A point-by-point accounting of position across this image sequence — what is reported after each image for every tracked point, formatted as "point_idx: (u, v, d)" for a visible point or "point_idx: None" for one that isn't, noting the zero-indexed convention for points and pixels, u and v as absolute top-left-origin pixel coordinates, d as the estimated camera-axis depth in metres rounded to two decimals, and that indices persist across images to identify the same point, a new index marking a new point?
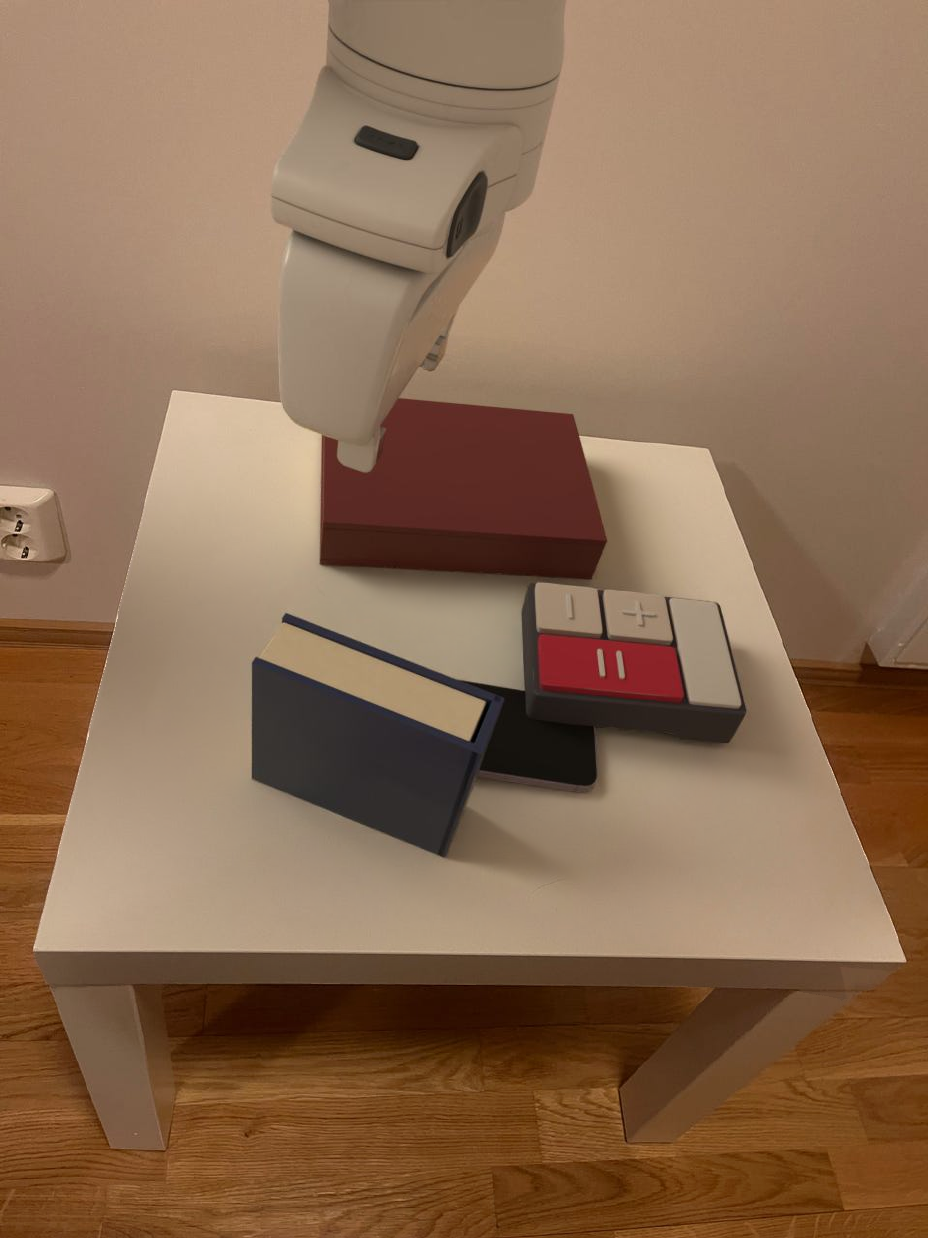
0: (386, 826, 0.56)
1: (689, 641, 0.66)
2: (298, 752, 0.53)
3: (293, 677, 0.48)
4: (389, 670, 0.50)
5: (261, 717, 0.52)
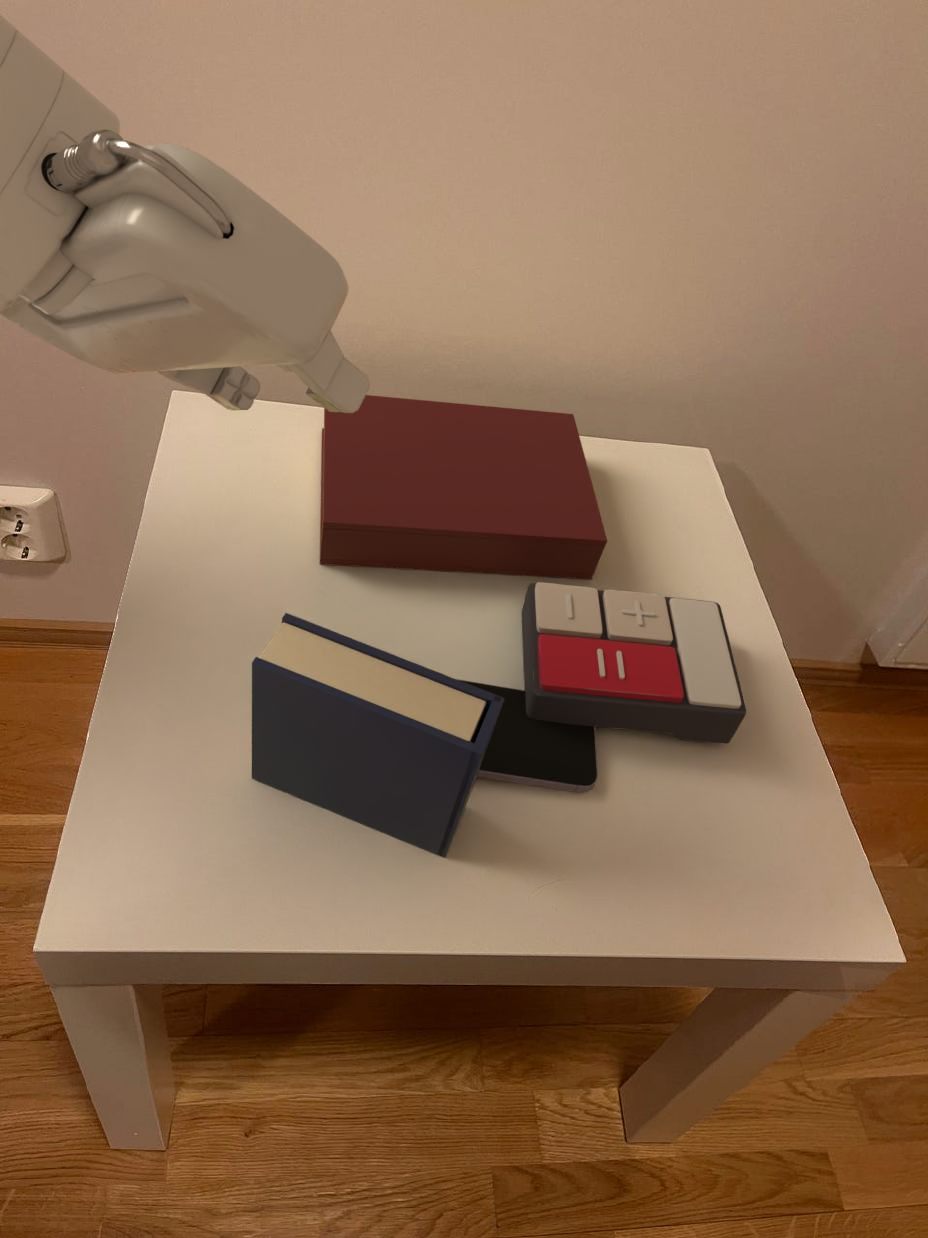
0: (386, 826, 0.56)
1: (689, 641, 0.66)
2: (298, 752, 0.53)
3: (293, 677, 0.48)
4: (389, 670, 0.50)
5: (261, 717, 0.52)
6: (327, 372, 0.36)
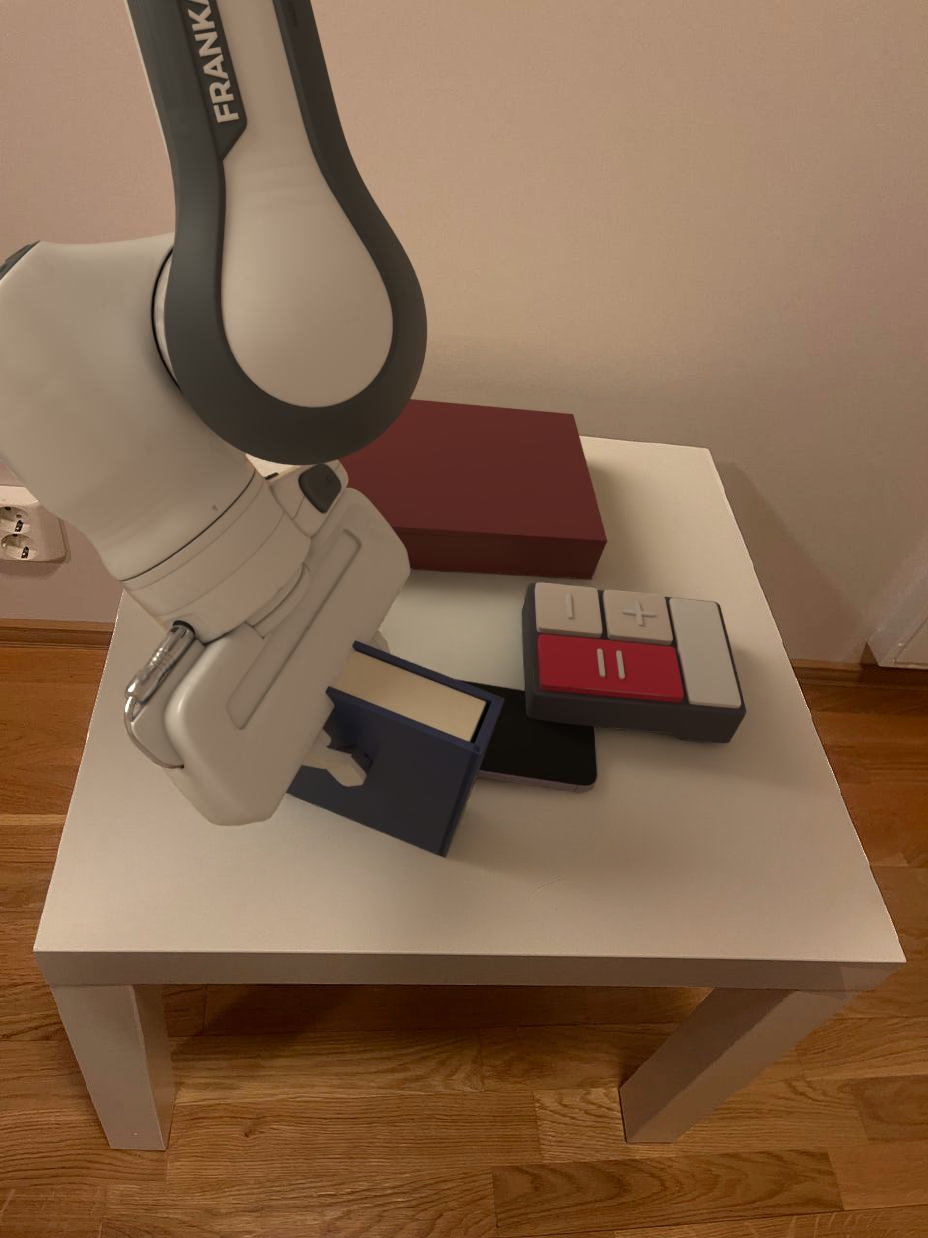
0: (386, 826, 0.56)
1: (689, 641, 0.66)
2: None
3: None
4: (388, 671, 0.50)
5: None
6: (325, 766, 0.49)
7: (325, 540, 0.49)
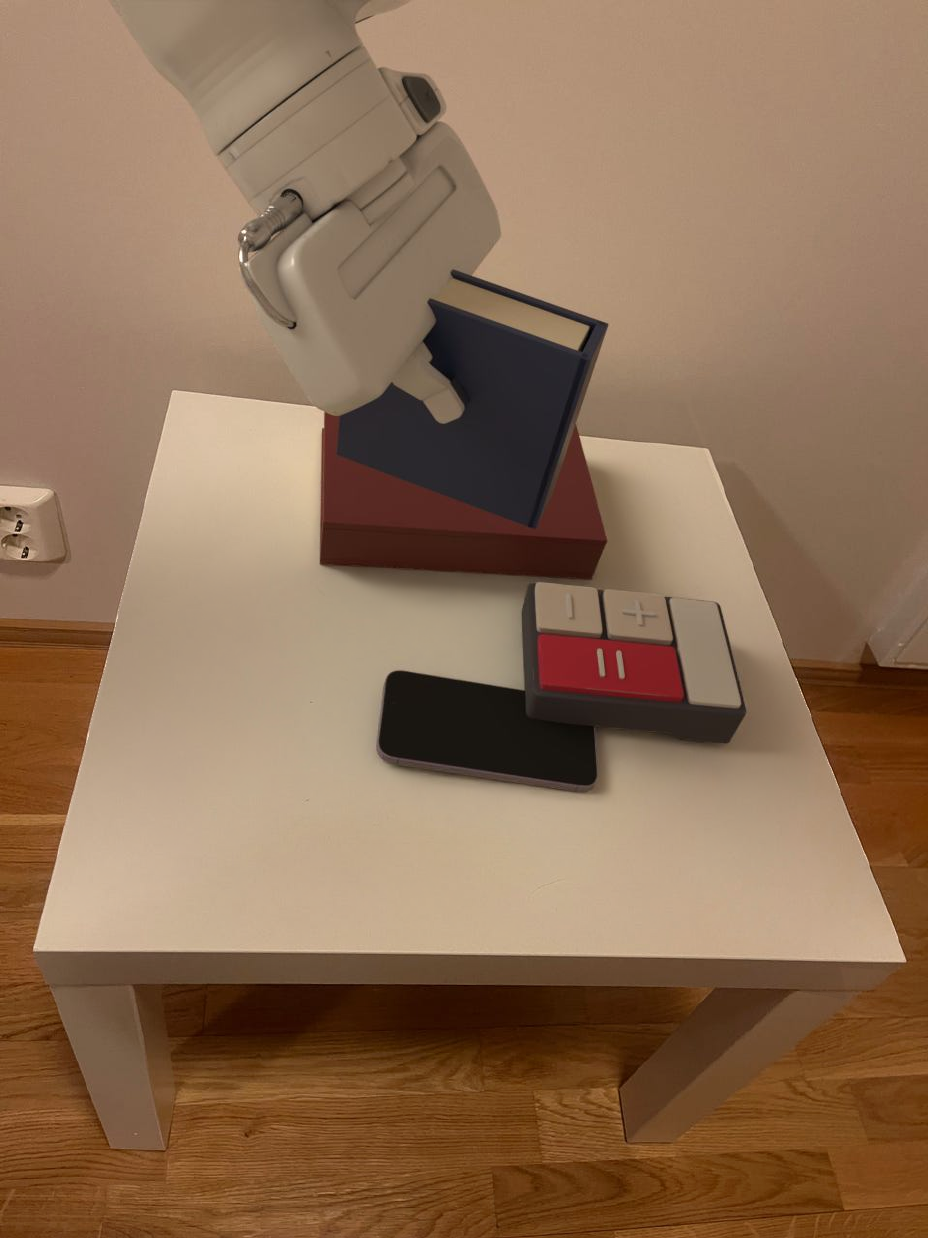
0: (476, 495, 0.54)
1: (689, 641, 0.66)
2: (390, 402, 0.52)
3: None
4: (489, 295, 0.48)
5: None
6: (424, 392, 0.48)
7: (426, 153, 0.47)
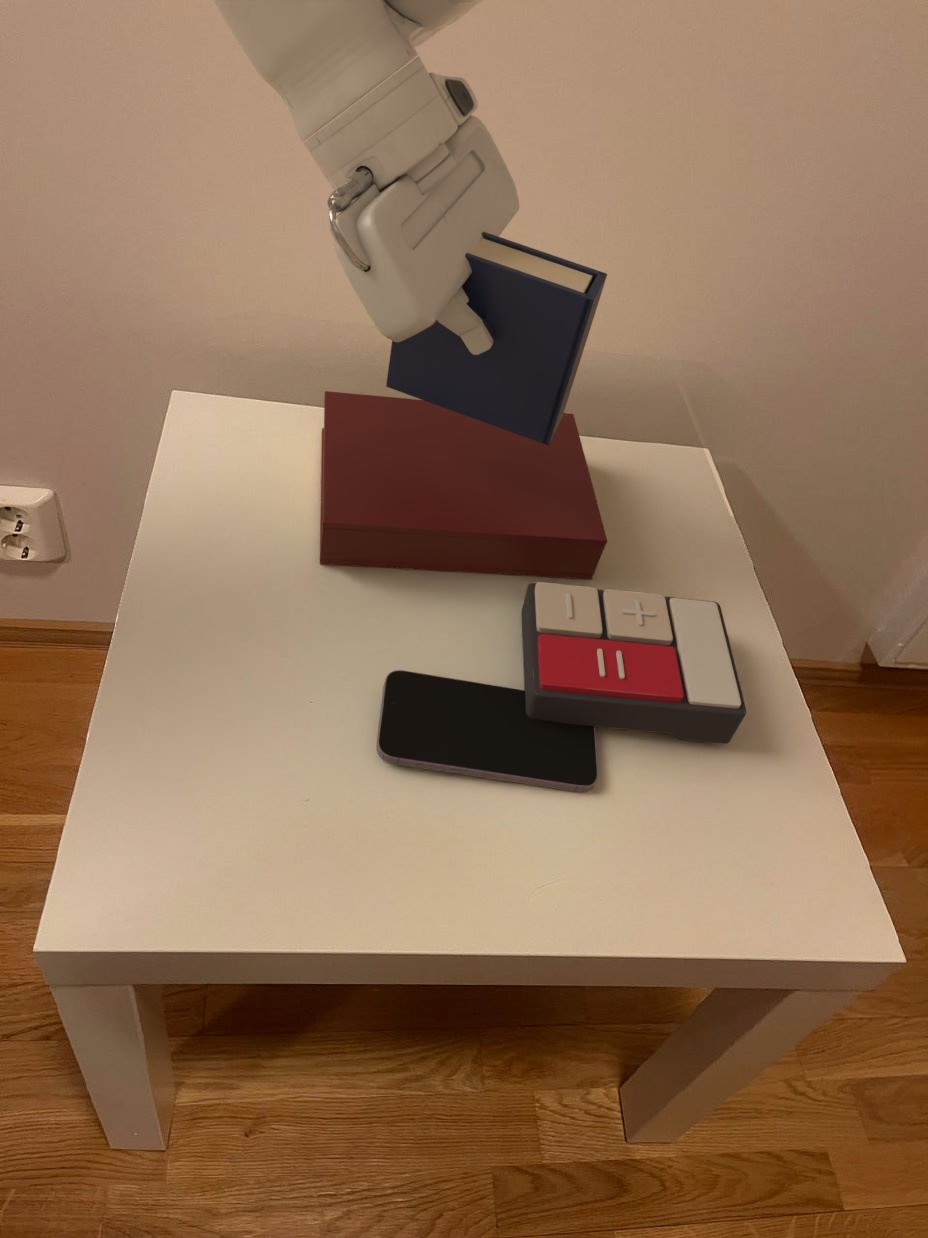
0: (500, 417, 0.67)
1: (689, 641, 0.66)
2: (433, 340, 0.65)
3: None
4: (513, 251, 0.61)
5: None
6: (461, 328, 0.61)
7: (463, 140, 0.60)
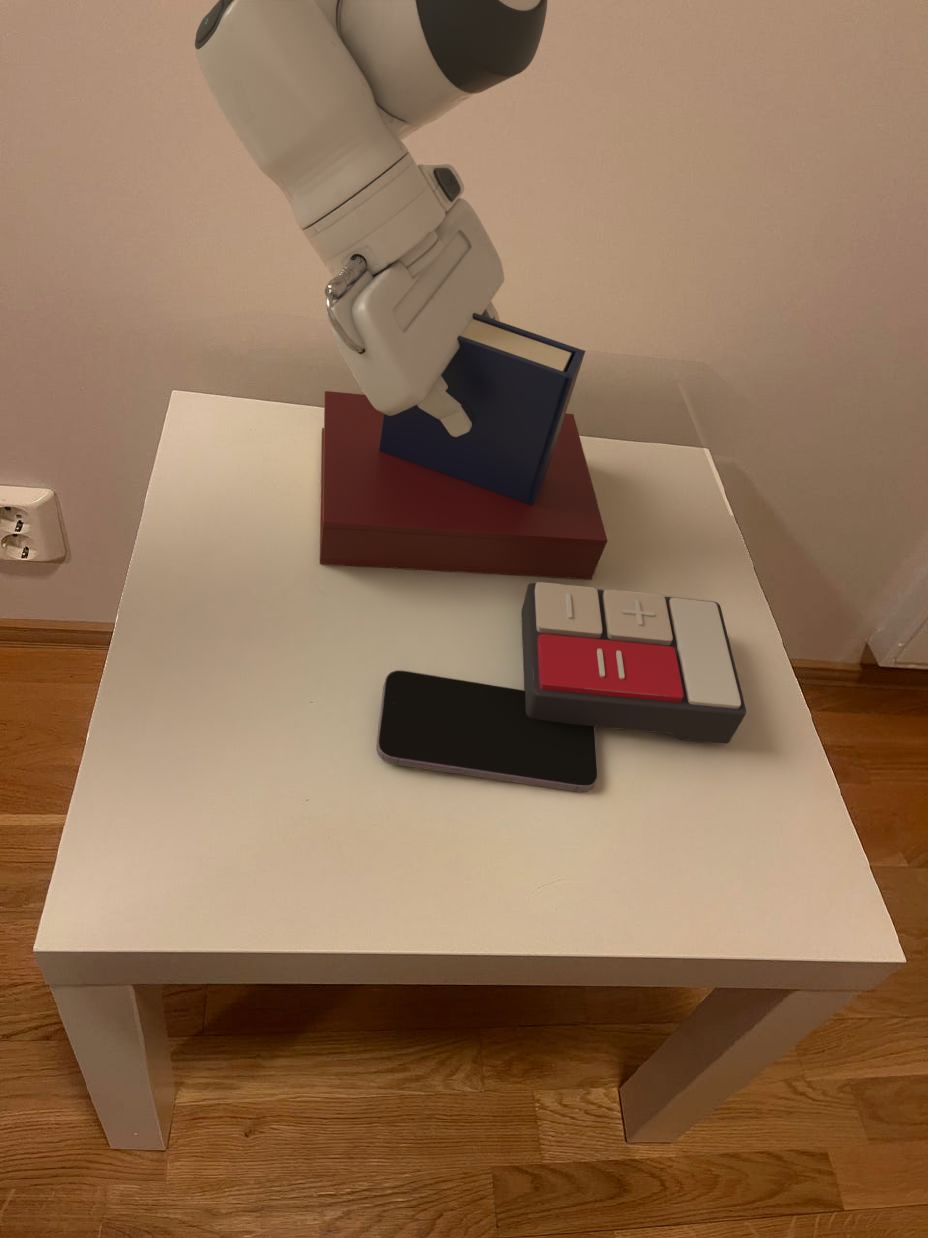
0: (487, 479, 0.72)
1: (689, 641, 0.66)
2: (422, 410, 0.69)
3: None
4: (497, 330, 0.66)
5: None
6: (441, 413, 0.64)
7: (451, 223, 0.64)
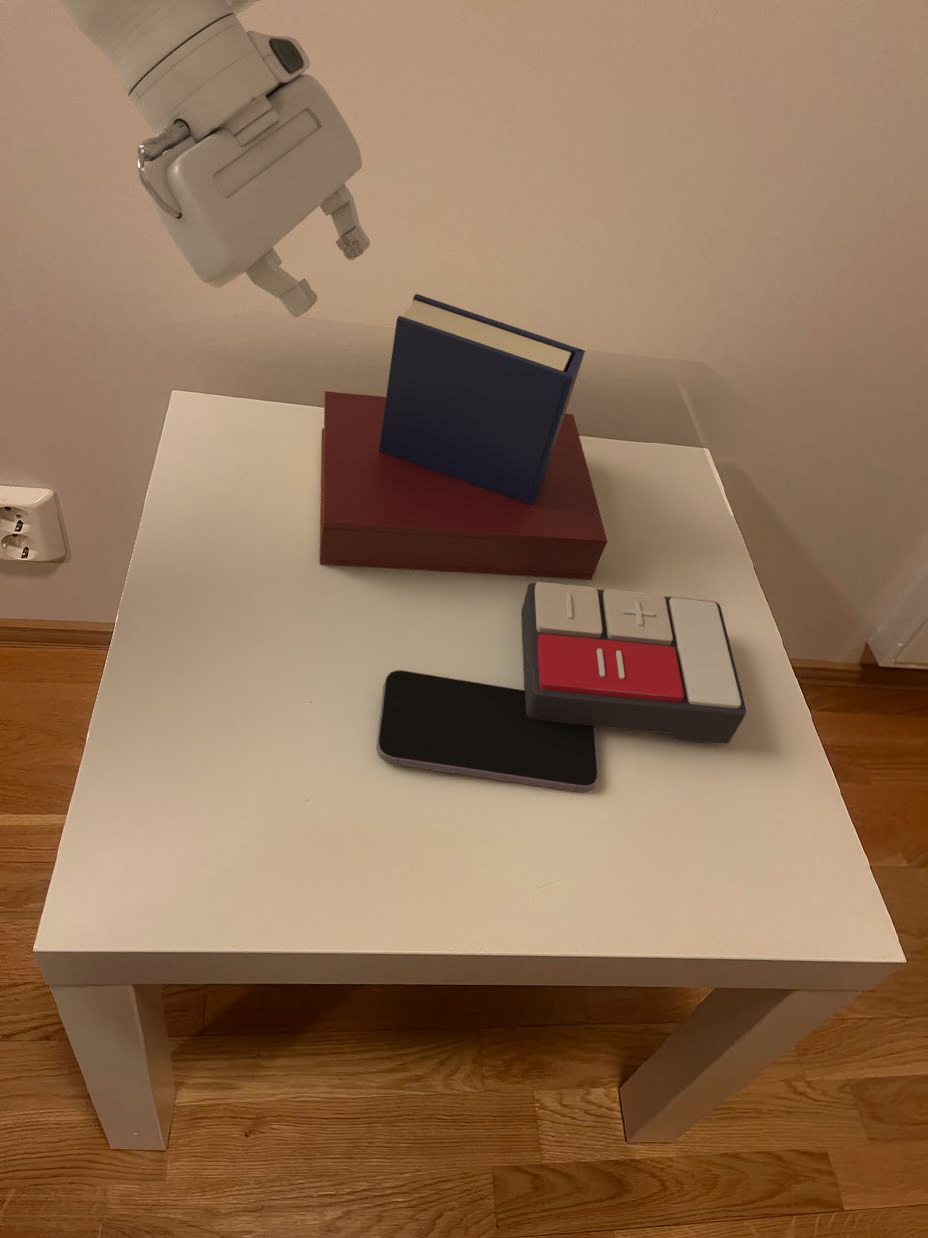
0: (487, 479, 0.72)
1: (689, 641, 0.66)
2: (422, 411, 0.69)
3: (429, 328, 0.64)
4: (497, 331, 0.66)
5: (396, 377, 0.67)
6: (278, 290, 0.63)
7: (290, 96, 0.63)
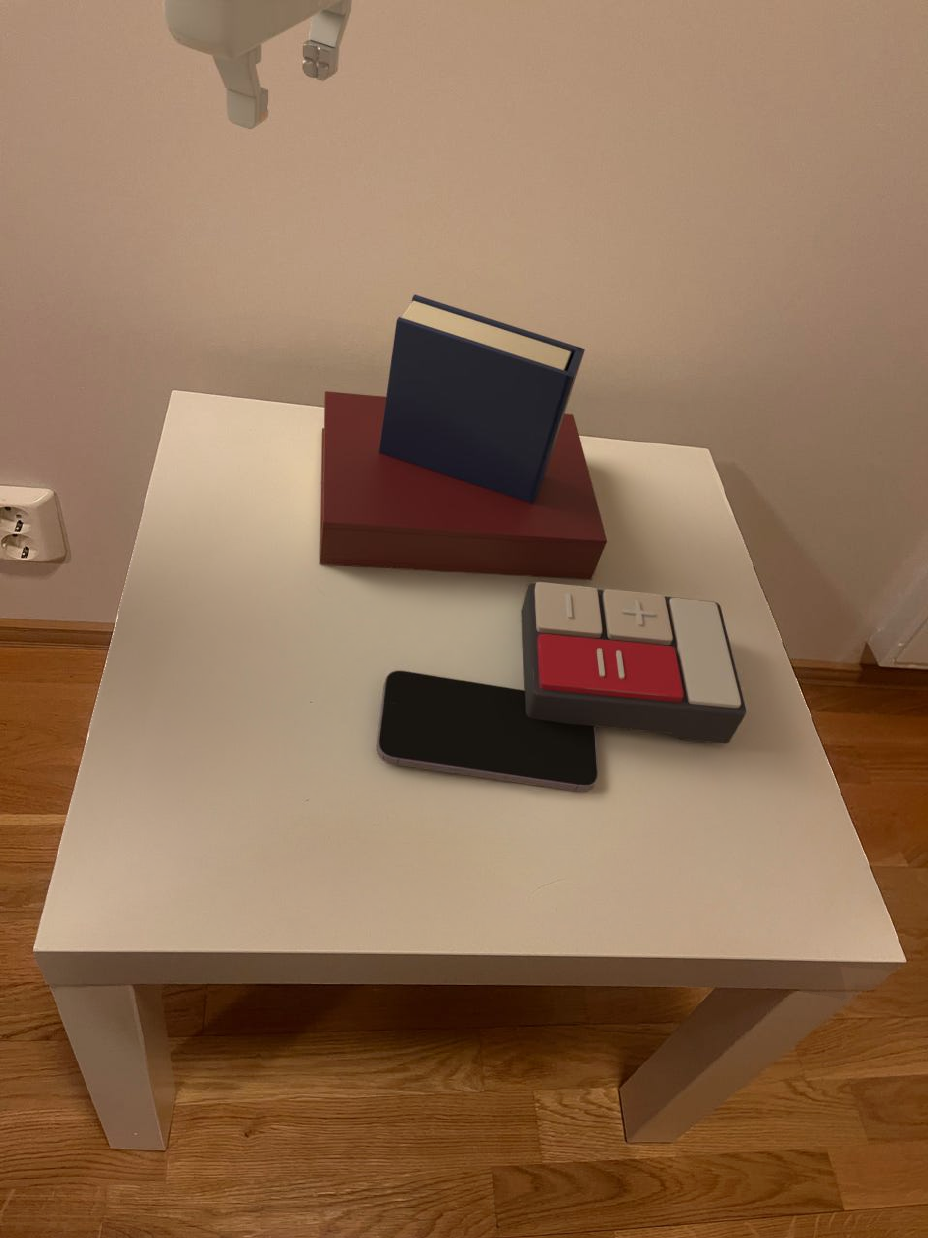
0: (488, 479, 0.72)
1: (689, 641, 0.66)
2: (423, 411, 0.69)
3: (429, 329, 0.64)
4: (497, 330, 0.66)
5: (396, 378, 0.67)
6: (233, 83, 0.49)
7: None
